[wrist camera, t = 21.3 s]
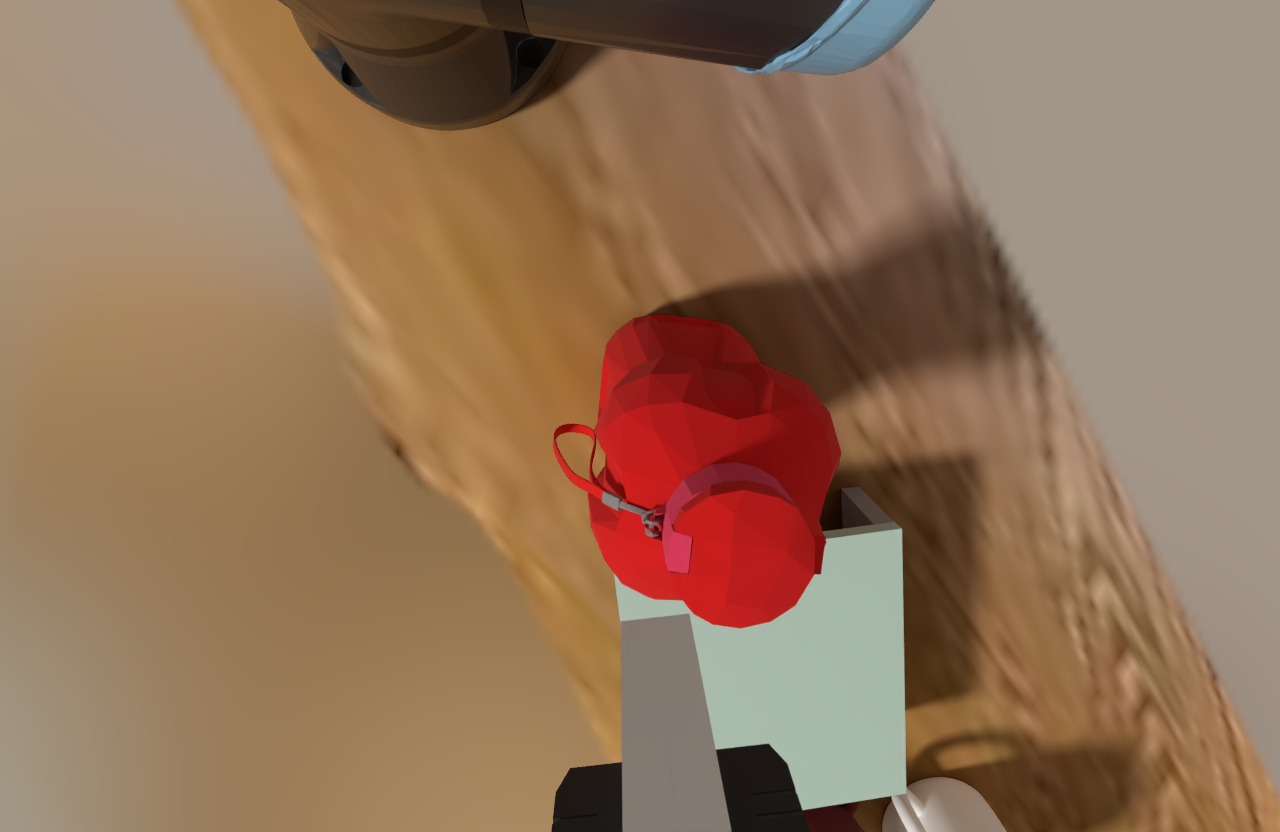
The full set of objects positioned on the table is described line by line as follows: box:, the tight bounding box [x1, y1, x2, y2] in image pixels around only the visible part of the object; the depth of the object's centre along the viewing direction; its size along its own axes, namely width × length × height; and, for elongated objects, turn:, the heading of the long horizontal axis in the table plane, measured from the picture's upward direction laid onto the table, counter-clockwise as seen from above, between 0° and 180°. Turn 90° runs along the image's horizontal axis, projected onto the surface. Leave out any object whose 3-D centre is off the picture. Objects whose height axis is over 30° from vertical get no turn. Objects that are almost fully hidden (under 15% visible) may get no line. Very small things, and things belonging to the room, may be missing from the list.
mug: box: [802, 801, 864, 832], centre depth 48 cm, size 10×8×10 cm
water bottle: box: [553, 315, 841, 629], centre depth 31 cm, size 9×11×25 cm
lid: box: [614, 522, 906, 810], centre depth 41 cm, size 18×16×1 cm
